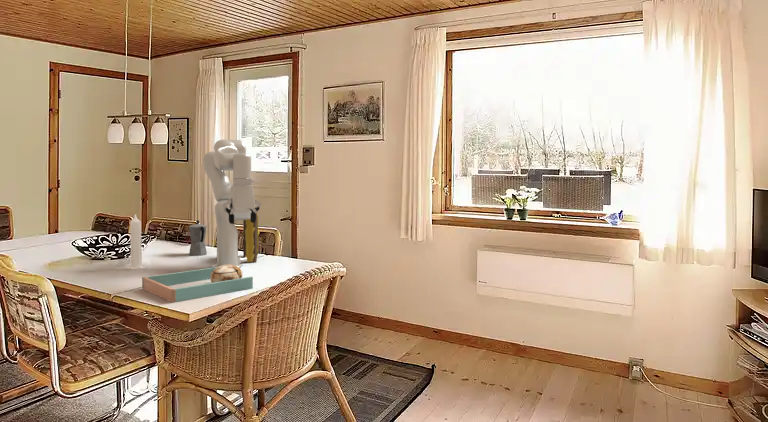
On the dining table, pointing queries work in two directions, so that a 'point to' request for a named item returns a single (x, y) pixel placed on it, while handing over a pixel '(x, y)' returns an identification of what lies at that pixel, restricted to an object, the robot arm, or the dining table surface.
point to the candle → (135, 245)
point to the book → (250, 240)
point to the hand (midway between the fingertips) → (242, 223)
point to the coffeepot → (197, 239)
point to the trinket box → (225, 273)
